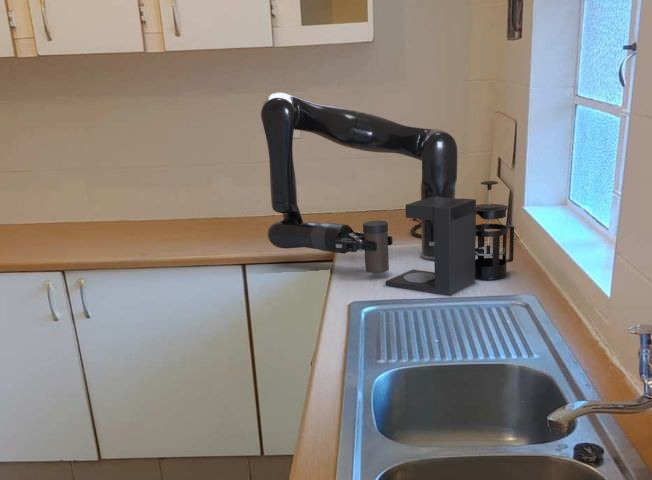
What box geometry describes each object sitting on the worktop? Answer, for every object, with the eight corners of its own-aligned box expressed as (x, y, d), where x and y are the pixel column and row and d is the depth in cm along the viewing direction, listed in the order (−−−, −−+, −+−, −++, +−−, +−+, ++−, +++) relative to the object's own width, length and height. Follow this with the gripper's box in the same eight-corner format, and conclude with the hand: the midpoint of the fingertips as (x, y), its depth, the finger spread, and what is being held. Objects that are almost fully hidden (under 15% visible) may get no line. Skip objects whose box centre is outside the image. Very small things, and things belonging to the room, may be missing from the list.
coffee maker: (385, 285, 184) (382, 203, 176) (412, 273, 193) (411, 194, 185) (449, 295, 173) (449, 208, 166) (475, 282, 182) (476, 199, 174)
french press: (475, 282, 182) (476, 186, 173) (460, 273, 190) (460, 180, 181) (520, 276, 184) (523, 181, 175) (503, 267, 193) (505, 176, 184)
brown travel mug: (370, 266, 196) (368, 220, 191) (392, 267, 193) (391, 220, 189) (361, 272, 190) (359, 225, 186) (384, 273, 188) (382, 226, 183)
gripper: (313, 229, 191) (366, 235, 181) (348, 218, 201) (399, 223, 191) (315, 257, 194) (367, 265, 184) (349, 245, 204) (400, 252, 194)
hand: (383, 243), depth 188 cm, fingers closed on brown travel mug, 6 cm apart
